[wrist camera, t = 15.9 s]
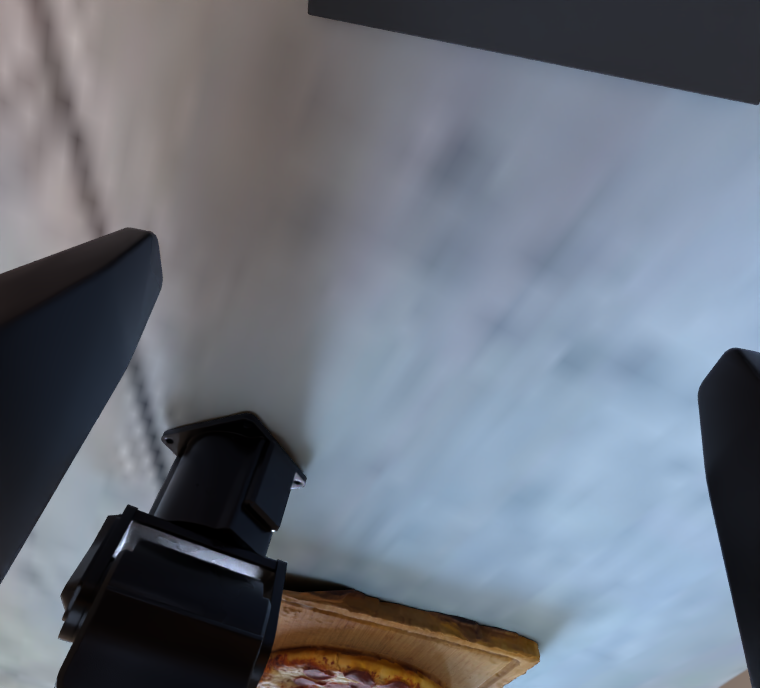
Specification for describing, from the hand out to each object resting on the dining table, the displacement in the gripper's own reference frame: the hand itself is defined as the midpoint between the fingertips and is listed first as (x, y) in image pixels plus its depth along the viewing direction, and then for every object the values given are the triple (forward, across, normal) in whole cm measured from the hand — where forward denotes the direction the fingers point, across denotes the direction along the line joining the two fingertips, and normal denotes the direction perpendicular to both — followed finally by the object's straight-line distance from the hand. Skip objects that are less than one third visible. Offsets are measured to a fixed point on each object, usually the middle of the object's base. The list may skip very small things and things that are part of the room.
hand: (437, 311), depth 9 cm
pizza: (+14, -2, +55) cm, 57 cm away
